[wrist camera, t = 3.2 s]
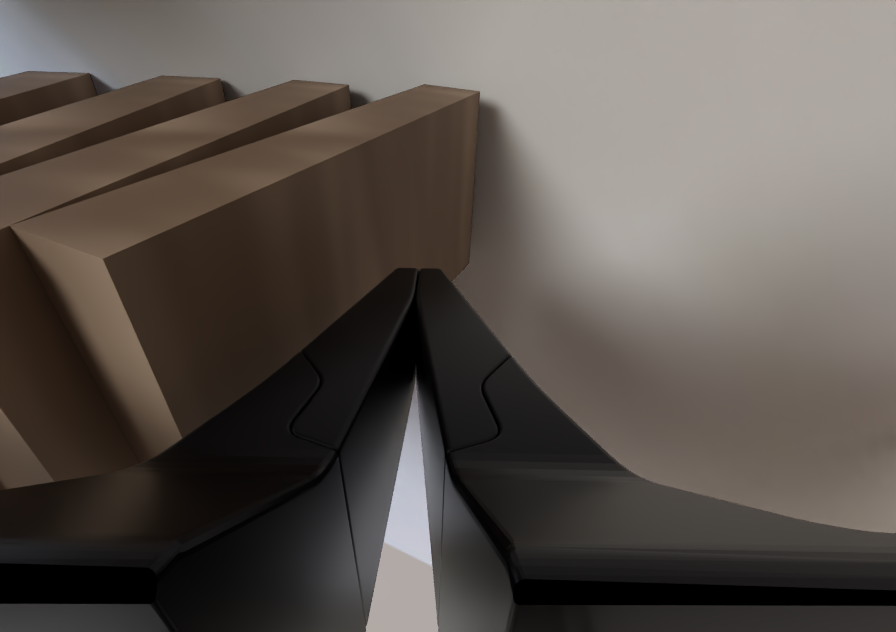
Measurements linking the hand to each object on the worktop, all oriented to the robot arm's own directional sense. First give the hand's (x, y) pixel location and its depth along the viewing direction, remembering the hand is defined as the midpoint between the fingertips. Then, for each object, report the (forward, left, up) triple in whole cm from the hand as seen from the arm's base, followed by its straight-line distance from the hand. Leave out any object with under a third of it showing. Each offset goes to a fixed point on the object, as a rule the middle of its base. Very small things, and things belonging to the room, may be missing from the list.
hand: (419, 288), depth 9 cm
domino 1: (-1, 0, -6) cm, 6 cm away
